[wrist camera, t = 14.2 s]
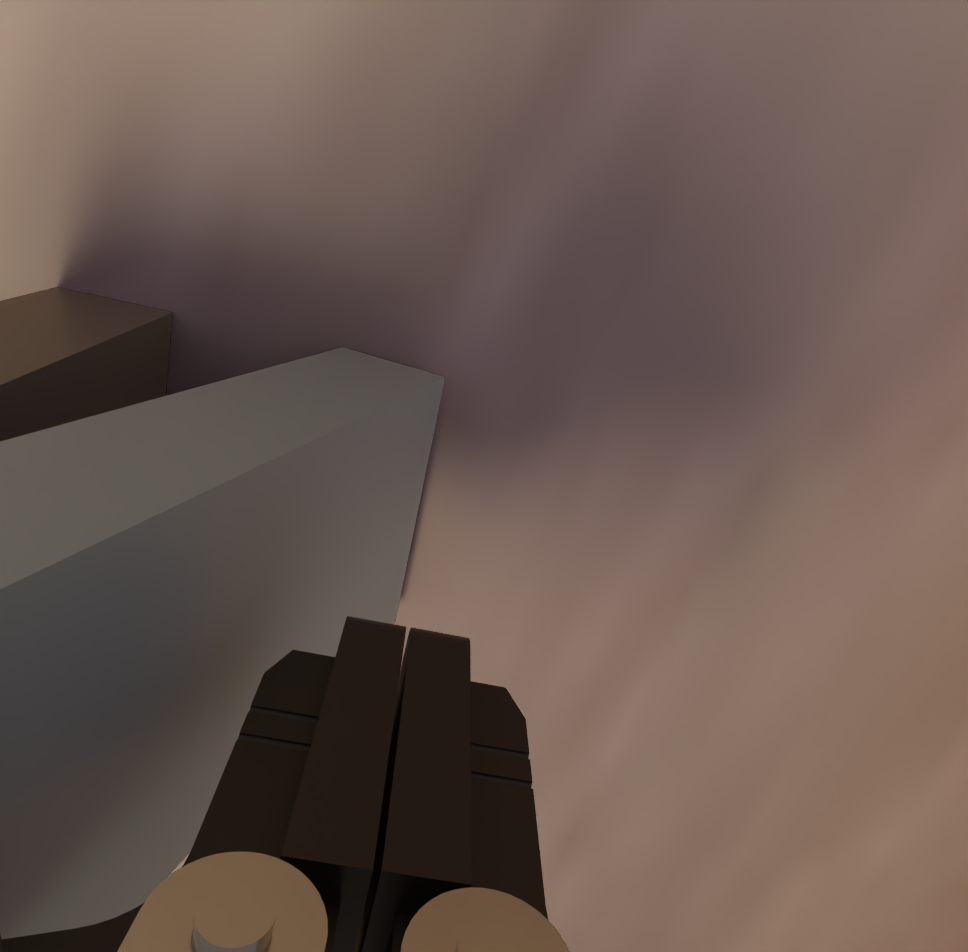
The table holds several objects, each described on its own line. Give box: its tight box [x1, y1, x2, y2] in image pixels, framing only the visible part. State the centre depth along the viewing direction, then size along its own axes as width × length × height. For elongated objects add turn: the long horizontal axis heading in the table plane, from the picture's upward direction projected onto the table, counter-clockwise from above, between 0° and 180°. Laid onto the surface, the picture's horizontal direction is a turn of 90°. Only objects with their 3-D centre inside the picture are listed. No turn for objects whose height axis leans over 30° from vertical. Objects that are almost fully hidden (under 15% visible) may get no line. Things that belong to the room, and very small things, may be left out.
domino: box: [0, 347, 445, 939], centre depth 10 cm, size 2×5×10 cm, turn 168°
